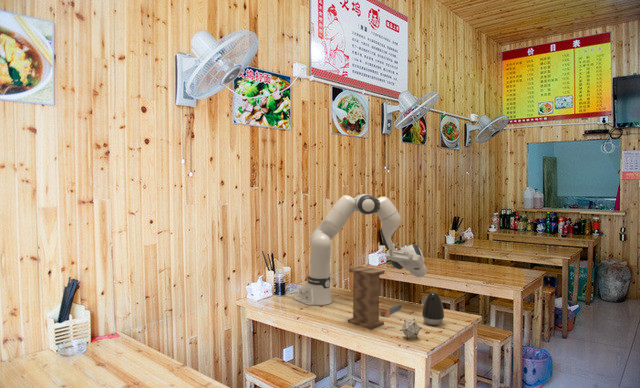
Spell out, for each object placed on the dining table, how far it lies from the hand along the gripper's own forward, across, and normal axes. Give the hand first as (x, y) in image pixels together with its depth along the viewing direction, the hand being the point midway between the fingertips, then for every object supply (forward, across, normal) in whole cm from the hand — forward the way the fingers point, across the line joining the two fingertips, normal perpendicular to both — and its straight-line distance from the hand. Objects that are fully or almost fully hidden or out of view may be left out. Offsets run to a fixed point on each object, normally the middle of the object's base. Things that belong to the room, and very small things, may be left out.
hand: (397, 251), depth 225 cm
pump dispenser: (-13, +23, +29) cm, 39 cm away
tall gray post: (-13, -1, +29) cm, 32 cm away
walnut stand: (+8, 0, +40) cm, 41 cm away
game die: (+8, +25, +41) cm, 49 cm away
